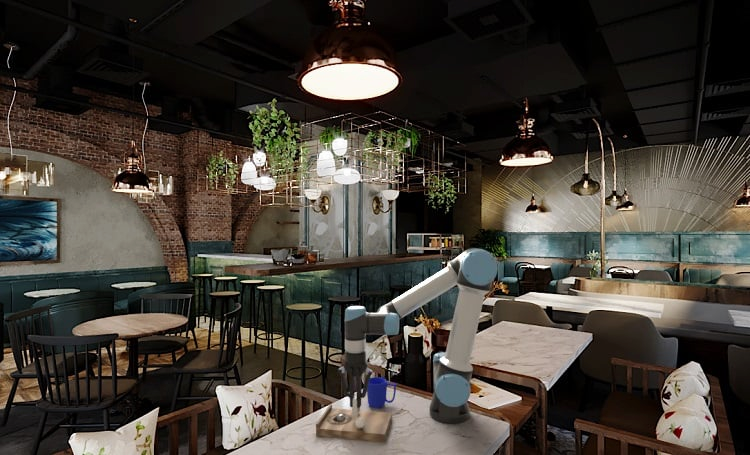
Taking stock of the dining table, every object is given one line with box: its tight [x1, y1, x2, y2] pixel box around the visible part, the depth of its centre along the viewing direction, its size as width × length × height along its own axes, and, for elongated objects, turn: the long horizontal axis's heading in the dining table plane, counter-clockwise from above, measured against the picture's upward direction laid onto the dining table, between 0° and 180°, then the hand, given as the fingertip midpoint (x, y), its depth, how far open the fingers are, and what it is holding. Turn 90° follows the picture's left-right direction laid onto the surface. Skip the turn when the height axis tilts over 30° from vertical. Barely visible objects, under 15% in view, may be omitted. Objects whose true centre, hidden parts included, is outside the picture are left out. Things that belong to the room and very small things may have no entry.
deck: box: [315, 403, 393, 443], centre depth 144 cm, size 24×16×4 cm, turn 79°
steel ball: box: [336, 414, 345, 422], centre depth 145 cm, size 3×3×3 cm
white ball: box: [355, 417, 365, 429], centre depth 138 cm, size 4×4×4 cm
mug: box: [366, 376, 397, 409], centre depth 161 cm, size 8×12×10 cm
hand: (355, 416), depth 144 cm, fingers closed
